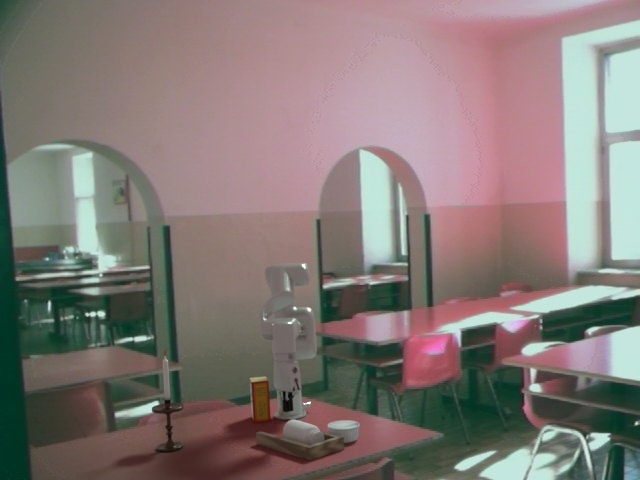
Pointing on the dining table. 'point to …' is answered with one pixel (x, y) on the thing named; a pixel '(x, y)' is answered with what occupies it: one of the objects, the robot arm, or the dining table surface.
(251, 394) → the baking soda box
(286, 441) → the u rest
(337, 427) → the ramekin
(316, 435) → the pill bottle
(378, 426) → the dining table surface
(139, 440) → the dining table surface
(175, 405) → the candlestick
